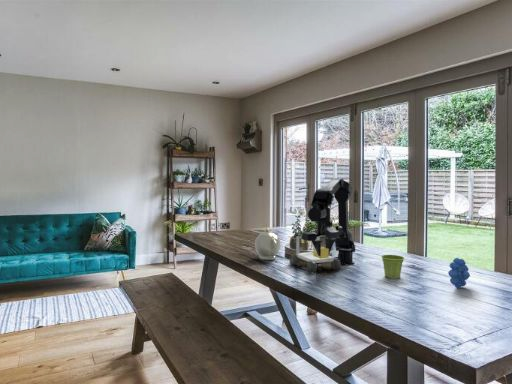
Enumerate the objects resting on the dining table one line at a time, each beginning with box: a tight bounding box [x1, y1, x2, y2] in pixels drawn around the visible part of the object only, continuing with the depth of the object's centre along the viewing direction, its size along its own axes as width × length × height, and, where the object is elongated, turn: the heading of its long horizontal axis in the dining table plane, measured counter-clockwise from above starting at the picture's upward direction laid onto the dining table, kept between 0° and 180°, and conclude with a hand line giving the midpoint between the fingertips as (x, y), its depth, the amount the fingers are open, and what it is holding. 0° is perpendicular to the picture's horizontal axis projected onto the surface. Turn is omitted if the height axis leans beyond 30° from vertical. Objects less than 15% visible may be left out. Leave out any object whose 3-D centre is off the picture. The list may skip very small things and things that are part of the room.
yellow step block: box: [312, 246, 330, 259], centre depth 161 cm, size 4×6×4 cm, turn 23°
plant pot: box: [380, 254, 405, 280], centre depth 160 cm, size 9×9×9 cm
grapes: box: [447, 257, 471, 289], centre depth 142 cm, size 12×7×12 cm, turn 123°
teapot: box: [254, 227, 281, 261], centre depth 195 cm, size 18×14×16 cm
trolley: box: [289, 235, 342, 273], centre depth 178 cm, size 21×15×14 cm
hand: (323, 255), depth 159 cm, fingers closed on yellow step block, 4 cm apart
